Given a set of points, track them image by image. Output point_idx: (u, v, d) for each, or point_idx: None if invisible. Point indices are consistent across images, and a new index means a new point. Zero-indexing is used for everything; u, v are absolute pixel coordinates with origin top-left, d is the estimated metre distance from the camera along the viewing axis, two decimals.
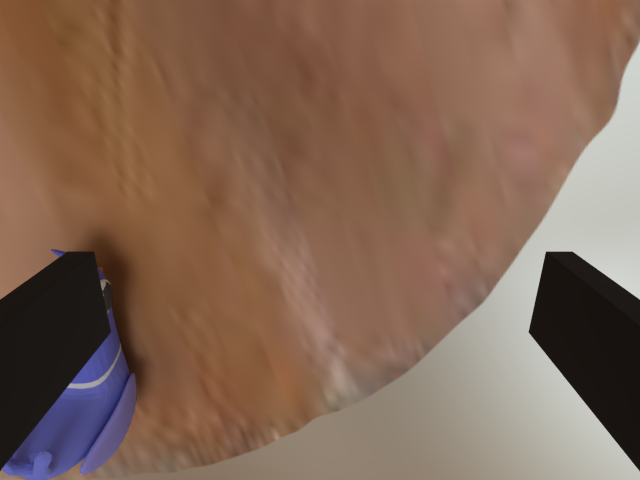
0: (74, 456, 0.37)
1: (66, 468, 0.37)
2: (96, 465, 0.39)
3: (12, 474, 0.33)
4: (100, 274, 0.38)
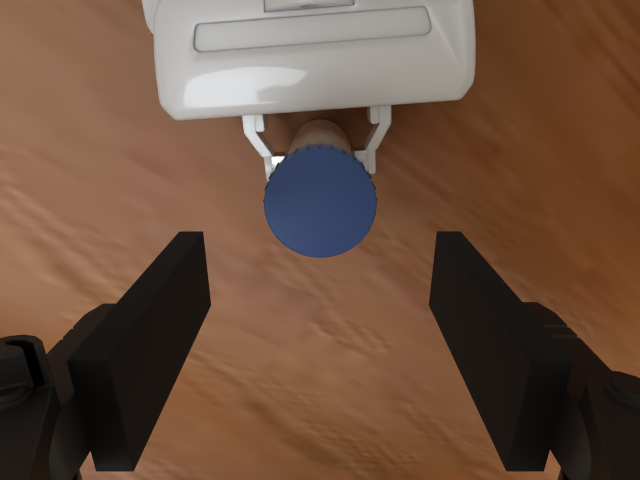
0: None
1: None
2: None
3: None
4: None
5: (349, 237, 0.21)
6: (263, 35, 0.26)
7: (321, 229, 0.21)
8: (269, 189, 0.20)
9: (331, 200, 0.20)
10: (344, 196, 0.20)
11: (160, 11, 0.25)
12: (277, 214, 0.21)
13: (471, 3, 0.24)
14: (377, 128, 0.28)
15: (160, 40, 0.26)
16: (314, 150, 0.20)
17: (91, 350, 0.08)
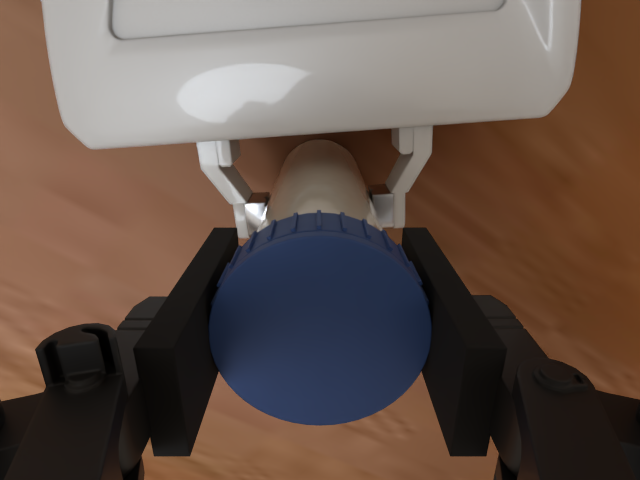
0: None
1: None
2: None
3: None
4: None
5: (376, 392, 0.11)
6: (224, 11, 0.15)
7: (322, 379, 0.11)
8: (217, 310, 0.10)
9: (343, 329, 0.10)
10: (368, 322, 0.10)
11: None
12: (235, 354, 0.11)
13: None
14: (409, 161, 0.18)
15: (53, 20, 0.15)
16: (308, 237, 0.09)
17: (154, 339, 0.08)
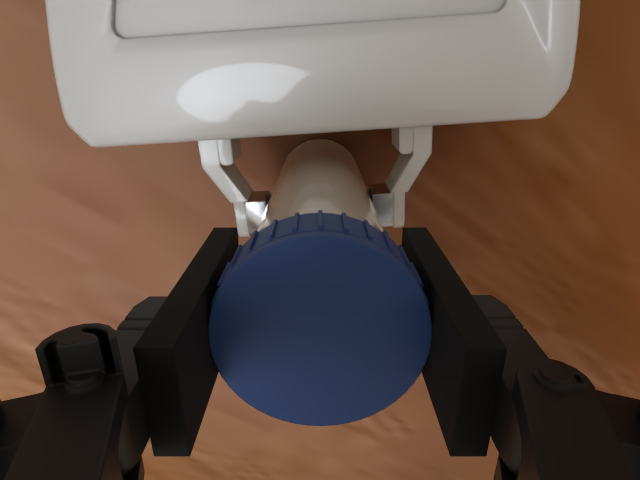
0: None
1: None
2: None
3: None
4: None
5: (380, 278, 0.10)
6: (227, 11, 0.16)
7: (368, 332, 0.10)
8: (302, 420, 0.11)
9: (303, 322, 0.10)
10: (291, 301, 0.10)
11: None
12: (347, 405, 0.11)
13: None
14: (409, 161, 0.18)
15: (56, 18, 0.15)
16: (215, 362, 0.11)
17: (154, 339, 0.08)
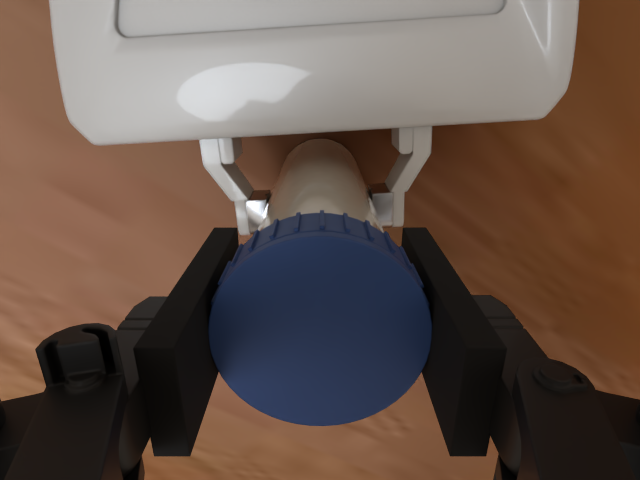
0: None
1: None
2: None
3: None
4: None
5: (240, 300, 0.10)
6: (229, 11, 0.16)
7: (302, 300, 0.10)
8: (425, 343, 0.10)
9: (302, 356, 0.11)
10: (281, 368, 0.11)
11: None
12: (400, 304, 0.10)
13: None
14: (409, 160, 0.18)
15: (60, 17, 0.16)
16: (359, 418, 0.11)
17: (154, 339, 0.08)
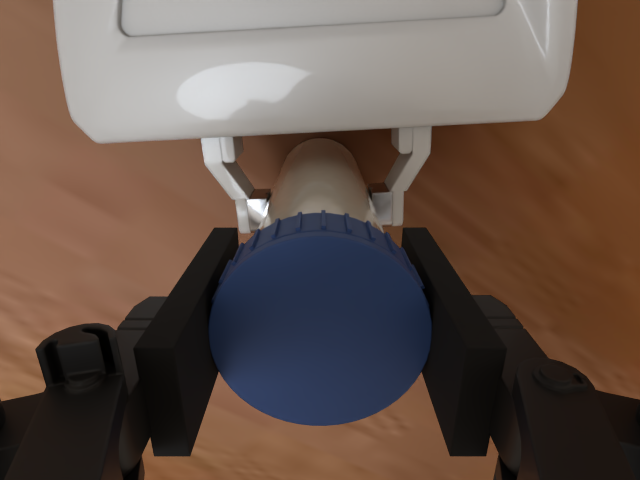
0: None
1: None
2: None
3: None
4: None
5: (288, 405, 0.11)
6: (231, 11, 0.16)
7: (278, 360, 0.11)
8: (306, 243, 0.09)
9: (340, 353, 0.10)
10: (358, 368, 0.11)
11: None
12: (264, 277, 0.10)
13: None
14: (408, 160, 0.18)
15: (63, 16, 0.16)
16: (419, 288, 0.10)
17: (154, 339, 0.08)
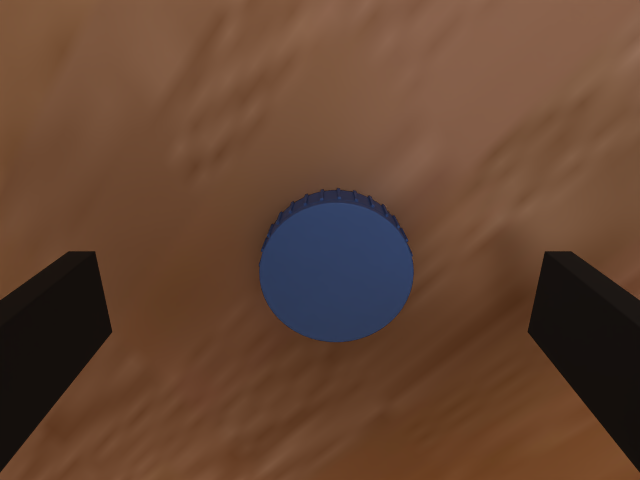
0: None
1: None
2: None
3: None
4: None
5: (313, 326, 0.16)
6: None
7: (306, 291, 0.15)
8: (328, 207, 0.14)
9: (350, 286, 0.15)
10: (362, 298, 0.15)
11: None
12: (299, 231, 0.14)
13: None
14: None
15: None
16: (404, 239, 0.15)
17: None
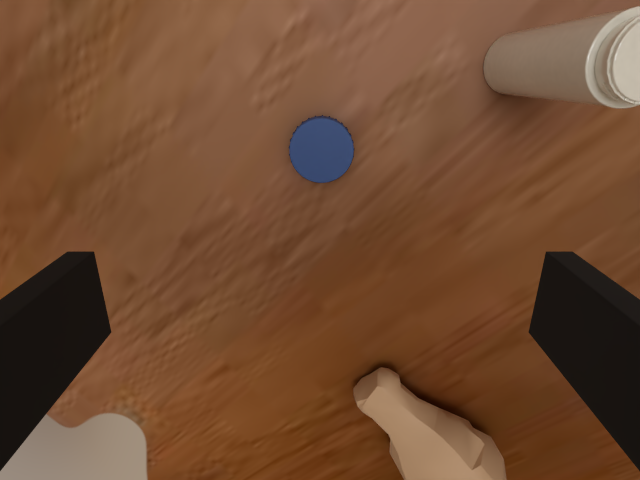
0: None
1: None
2: None
3: None
4: None
5: (312, 174, 0.37)
6: None
7: (309, 158, 0.36)
8: (317, 120, 0.35)
9: (327, 155, 0.36)
10: (332, 161, 0.36)
11: None
12: (306, 130, 0.35)
13: None
14: None
15: None
16: (349, 134, 0.36)
17: None
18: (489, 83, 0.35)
